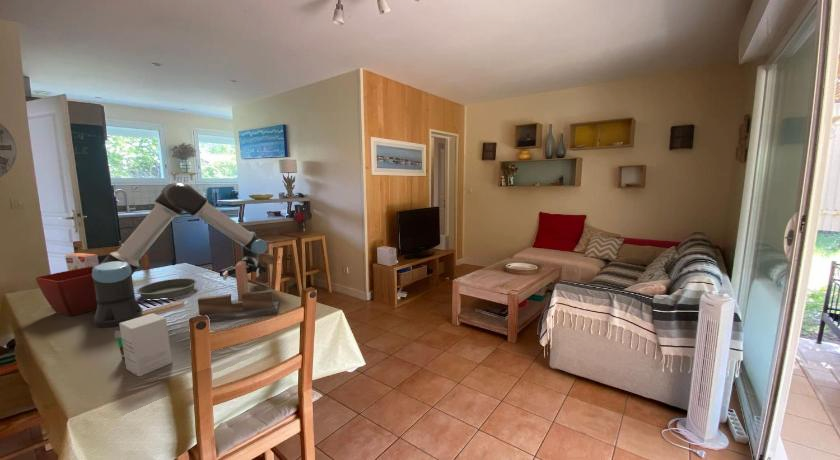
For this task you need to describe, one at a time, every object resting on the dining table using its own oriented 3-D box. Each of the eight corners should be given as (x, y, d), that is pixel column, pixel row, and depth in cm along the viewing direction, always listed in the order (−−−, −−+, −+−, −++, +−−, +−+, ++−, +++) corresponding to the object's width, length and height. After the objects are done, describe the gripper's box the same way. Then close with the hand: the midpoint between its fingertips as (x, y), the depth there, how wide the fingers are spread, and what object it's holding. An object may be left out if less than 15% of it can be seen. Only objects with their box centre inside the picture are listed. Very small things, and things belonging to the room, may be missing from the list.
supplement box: (159, 355, 112) (153, 312, 110) (173, 363, 108) (167, 317, 106) (125, 369, 105) (118, 322, 103) (138, 377, 100) (131, 328, 98)
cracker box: (71, 295, 172) (64, 254, 169) (85, 291, 178) (79, 252, 175) (90, 298, 168) (83, 256, 165) (104, 294, 174) (98, 253, 171)
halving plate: (242, 298, 166) (238, 261, 164) (248, 297, 167) (245, 261, 164) (238, 304, 158) (235, 266, 155) (245, 303, 159) (242, 265, 156)
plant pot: (41, 314, 149) (34, 276, 146) (96, 300, 166) (90, 266, 163) (64, 321, 141) (57, 281, 139) (119, 305, 159) (114, 269, 156)
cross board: (199, 311, 150) (197, 293, 148) (279, 302, 159) (277, 285, 158) (189, 324, 136) (187, 304, 135) (276, 313, 146) (275, 295, 145)
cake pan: (138, 292, 177) (137, 284, 176) (195, 283, 192) (194, 275, 191) (136, 306, 158) (135, 297, 157) (199, 294, 172) (198, 286, 172)
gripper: (274, 269, 182) (270, 280, 163) (221, 274, 175) (210, 286, 155) (273, 255, 181) (269, 265, 161) (219, 259, 174) (208, 270, 154)
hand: (240, 275), depth 158 cm, fingers open, 13 cm apart
